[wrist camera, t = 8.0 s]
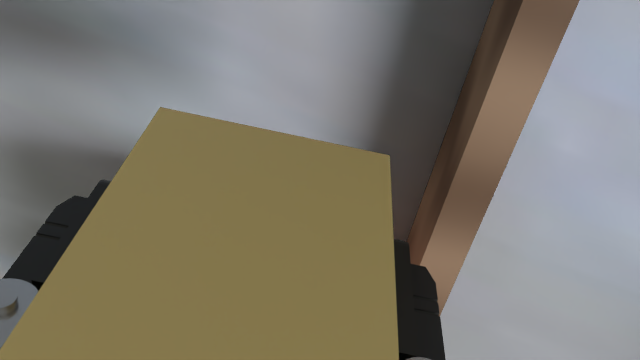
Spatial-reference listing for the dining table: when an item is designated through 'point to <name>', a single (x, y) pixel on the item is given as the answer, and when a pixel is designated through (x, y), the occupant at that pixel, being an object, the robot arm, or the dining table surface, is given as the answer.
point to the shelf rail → (485, 131)
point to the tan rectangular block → (225, 254)
